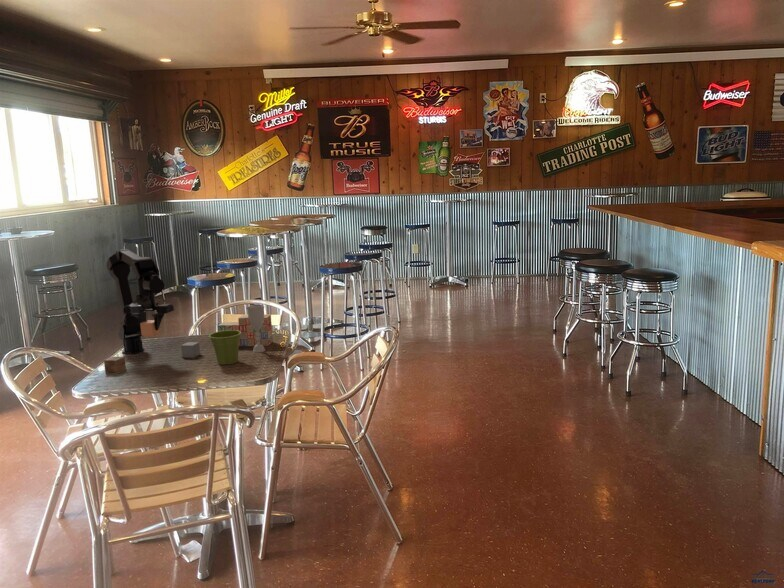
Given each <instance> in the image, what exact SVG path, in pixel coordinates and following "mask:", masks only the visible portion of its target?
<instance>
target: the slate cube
mask: <svg viewBox="0 0 784 588" xmlns="http://www.w3.org/2000/svg"><path fill="white" fill-rule="evenodd" d="M180 349H181V357H182V358H186V359H187V358H191V359H193V358H196V357H198V356H200V355H201V347H200V342H198V341H197V342H196V341H195V342H193V341H190V342H189V341H187V342H185V343H183V344H180Z"/></svg>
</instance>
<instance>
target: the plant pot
mask: <svg viewBox="0 0 784 588" xmlns="http://www.w3.org/2000/svg"><path fill="white" fill-rule="evenodd" d="M240 334H241V331H238V330H225V331H219V332H218V331H215V332H212V333H210V334H209V335H208V337H209V338H210V341H211V343H212V345H213V350H214V354H215V356H216V357H215V358H216V359H217V363H218V364H219V365H221V366H225V365H234V364H236V363H237V362H238V360H239V347H240V346H239V339H240Z"/></svg>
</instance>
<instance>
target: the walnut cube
mask: <svg viewBox="0 0 784 588" xmlns="http://www.w3.org/2000/svg"><path fill="white" fill-rule="evenodd" d="M103 363H104V371H105V374H116V375H117V374H120V373H122V372H125V371H126V370H127V365H126V357H125V356H111V357H108V358H106V359H104V360H103Z"/></svg>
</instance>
